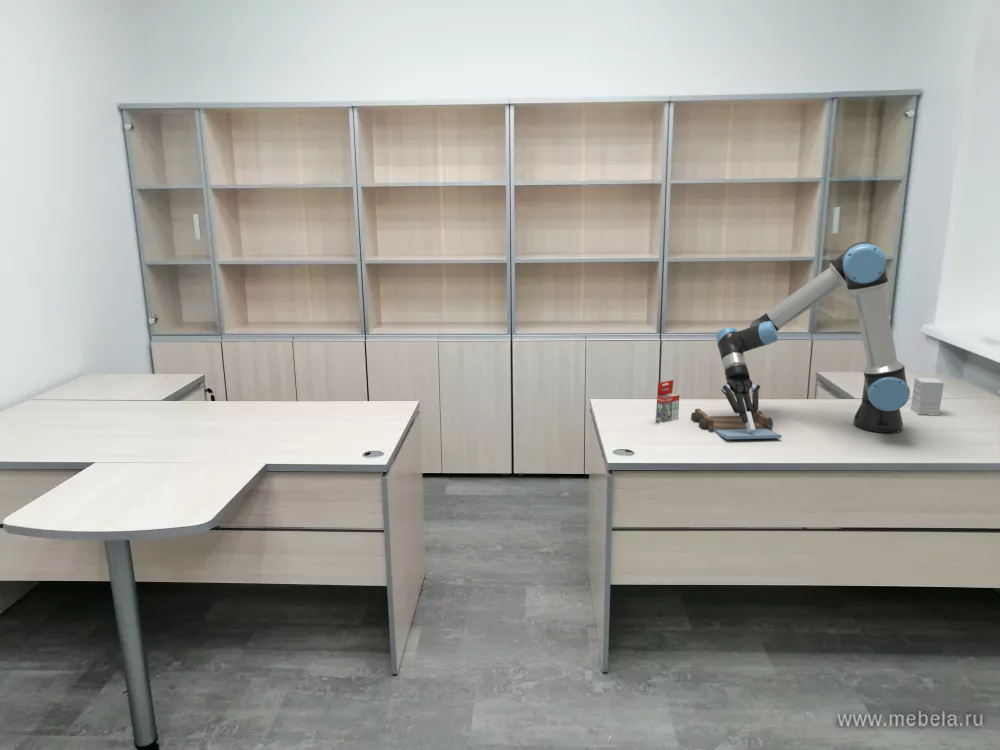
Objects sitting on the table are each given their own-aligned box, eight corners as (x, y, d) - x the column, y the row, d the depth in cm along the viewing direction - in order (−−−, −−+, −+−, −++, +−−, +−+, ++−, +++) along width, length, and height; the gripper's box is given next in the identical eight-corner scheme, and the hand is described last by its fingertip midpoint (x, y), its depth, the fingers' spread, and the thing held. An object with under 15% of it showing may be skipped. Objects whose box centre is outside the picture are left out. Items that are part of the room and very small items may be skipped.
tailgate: (713, 429, 240) (727, 436, 228) (765, 427, 241) (781, 434, 230) (713, 433, 240) (727, 440, 228) (765, 431, 241) (781, 438, 230)
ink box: (678, 421, 254) (681, 381, 250) (662, 425, 249) (665, 384, 246) (670, 418, 257) (673, 379, 253) (655, 422, 252) (657, 382, 249)
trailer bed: (689, 420, 254) (690, 408, 253) (756, 419, 256) (757, 407, 255) (705, 435, 239) (706, 422, 238) (776, 433, 240) (777, 420, 239)
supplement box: (931, 410, 267) (936, 377, 264) (939, 416, 260) (944, 382, 257) (909, 409, 268) (914, 376, 265) (917, 415, 261) (922, 381, 258)
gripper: (750, 374, 247) (766, 435, 234) (713, 375, 246) (728, 436, 233) (758, 363, 240) (775, 425, 228) (720, 363, 239) (735, 426, 227)
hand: (751, 431), depth 231 cm, fingers closed
